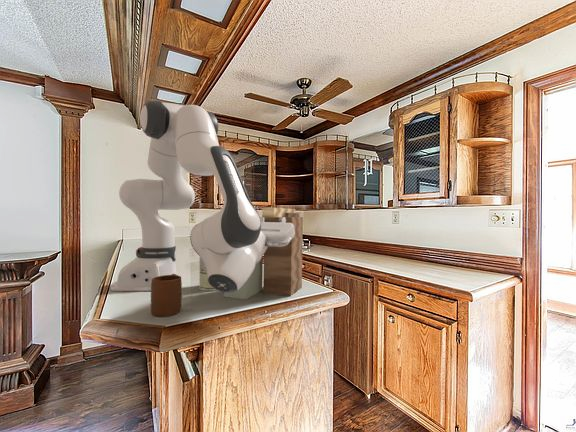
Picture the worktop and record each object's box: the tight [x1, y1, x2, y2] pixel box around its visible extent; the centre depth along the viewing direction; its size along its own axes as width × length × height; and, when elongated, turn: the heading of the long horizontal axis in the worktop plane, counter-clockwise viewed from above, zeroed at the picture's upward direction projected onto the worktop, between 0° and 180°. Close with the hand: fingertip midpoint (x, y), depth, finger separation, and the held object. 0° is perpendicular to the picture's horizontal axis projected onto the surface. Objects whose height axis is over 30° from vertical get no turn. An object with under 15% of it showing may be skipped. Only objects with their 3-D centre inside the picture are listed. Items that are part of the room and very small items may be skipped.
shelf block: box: [223, 216, 264, 300], centre depth 95 cm, size 12×8×26 cm, turn 160°
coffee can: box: [198, 256, 217, 292], centre depth 102 cm, size 10×10×14 cm
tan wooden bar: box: [261, 207, 296, 218], centre depth 96 cm, size 20×4×3 cm, turn 160°
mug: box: [150, 274, 183, 318], centre depth 78 cm, size 12×8×9 cm, turn 6°
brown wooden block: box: [262, 212, 304, 297], centre depth 100 cm, size 12×10×28 cm
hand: (269, 218), depth 88 cm, fingers open, 8 cm apart
